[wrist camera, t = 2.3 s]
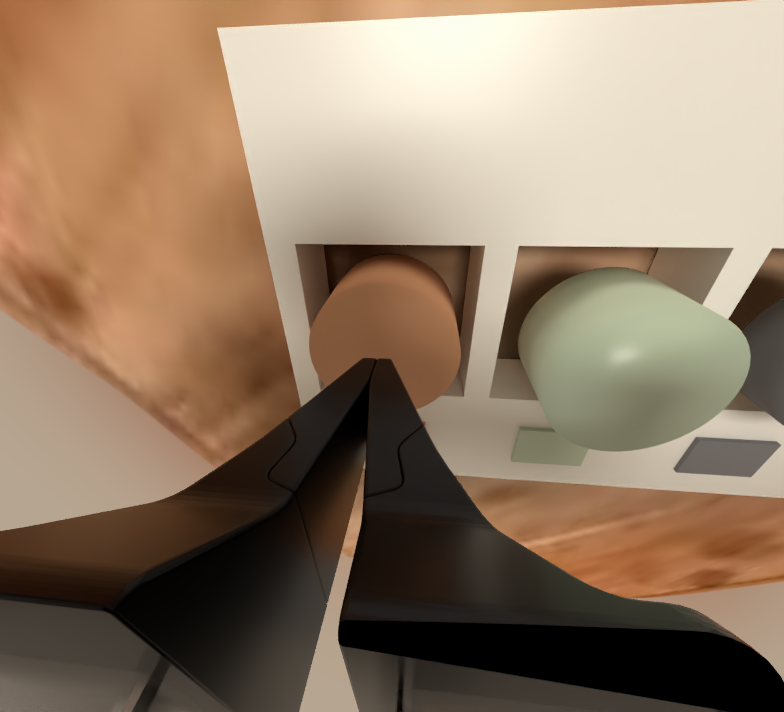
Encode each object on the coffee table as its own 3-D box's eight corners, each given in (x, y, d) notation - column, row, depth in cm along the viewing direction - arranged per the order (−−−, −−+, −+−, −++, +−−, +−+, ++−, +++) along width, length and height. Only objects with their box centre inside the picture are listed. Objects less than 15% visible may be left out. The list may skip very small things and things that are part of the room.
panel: (1084, 24, 8) (1399, -37, 6) (733, 446, 17) (792, 502, 14) (269, 58, 10) (212, 25, 7) (329, 423, 19) (313, 468, 16)
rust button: (460, 254, 11) (470, 285, 9) (448, 368, 14) (453, 417, 11) (325, 253, 11) (296, 281, 9) (338, 363, 14) (319, 409, 12)
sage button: (700, 268, 10) (799, 310, 7) (635, 393, 12) (690, 456, 10) (534, 265, 10) (571, 304, 7) (506, 387, 12) (526, 446, 10)
